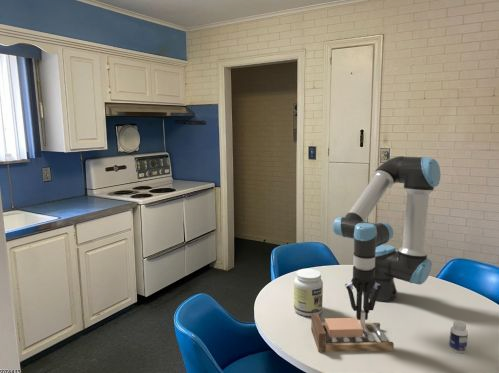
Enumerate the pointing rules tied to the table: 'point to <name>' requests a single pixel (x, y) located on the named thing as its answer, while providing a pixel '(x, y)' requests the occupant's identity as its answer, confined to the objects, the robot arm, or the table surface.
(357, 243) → the robot arm
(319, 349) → the frame
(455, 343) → the pill bottle
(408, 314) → the table surface
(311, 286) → the supplement tub
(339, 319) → the slab
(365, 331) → the roller bed
